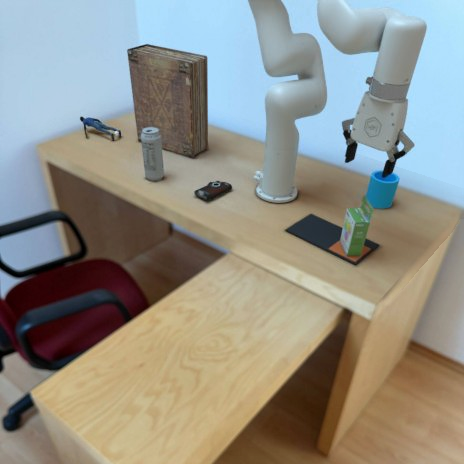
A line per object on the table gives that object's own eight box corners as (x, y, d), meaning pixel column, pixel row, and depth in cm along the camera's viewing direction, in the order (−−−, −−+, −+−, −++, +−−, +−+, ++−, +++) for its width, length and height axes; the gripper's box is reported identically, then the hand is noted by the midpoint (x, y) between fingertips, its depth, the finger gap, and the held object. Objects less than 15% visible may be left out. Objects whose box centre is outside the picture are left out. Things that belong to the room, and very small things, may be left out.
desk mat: (285, 231, 120) (285, 229, 119) (310, 215, 126) (311, 213, 126) (355, 265, 109) (355, 263, 109) (378, 246, 116) (379, 244, 115)
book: (208, 150, 158) (208, 56, 137) (193, 158, 152) (190, 62, 131) (154, 133, 167) (145, 43, 147) (137, 141, 161) (126, 48, 141)
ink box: (338, 241, 116) (349, 195, 107) (353, 240, 116) (365, 194, 107) (346, 256, 111) (357, 209, 102) (361, 256, 111) (374, 209, 102)
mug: (393, 210, 130) (401, 184, 125) (365, 206, 131) (371, 181, 125) (389, 191, 139) (397, 166, 133) (363, 188, 140) (369, 163, 134)
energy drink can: (168, 177, 141) (164, 130, 131) (153, 183, 137) (148, 135, 127) (156, 171, 144) (151, 124, 134) (141, 177, 140) (135, 129, 130)
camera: (192, 187, 131) (217, 176, 137) (192, 196, 133) (217, 185, 139) (207, 193, 128) (232, 182, 134) (207, 202, 129) (232, 190, 136)
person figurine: (128, 139, 166) (91, 122, 171) (127, 127, 163) (90, 110, 168) (108, 148, 159) (70, 130, 164) (108, 136, 156) (69, 118, 160)
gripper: (342, 82, 91) (326, 160, 103) (420, 105, 83) (392, 187, 95) (361, 75, 95) (344, 151, 107) (436, 96, 87) (409, 176, 99)
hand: (367, 168), depth 101 cm, fingers open, 9 cm apart
